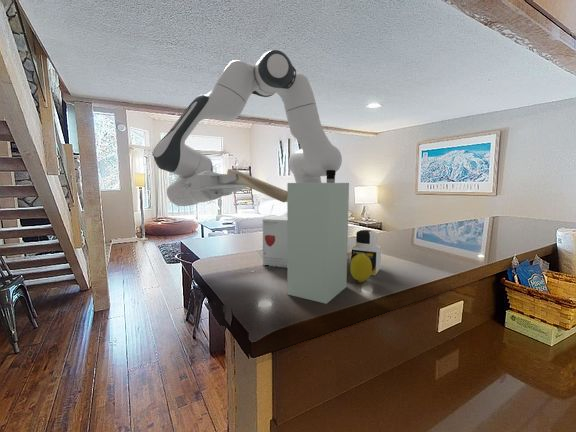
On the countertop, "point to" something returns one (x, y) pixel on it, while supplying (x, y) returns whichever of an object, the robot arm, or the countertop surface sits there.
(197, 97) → the robot arm
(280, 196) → the birch bar
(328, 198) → the pedestal
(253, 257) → the countertop surface
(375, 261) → the medicine bottle
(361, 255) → the lemon
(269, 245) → the supplement box
